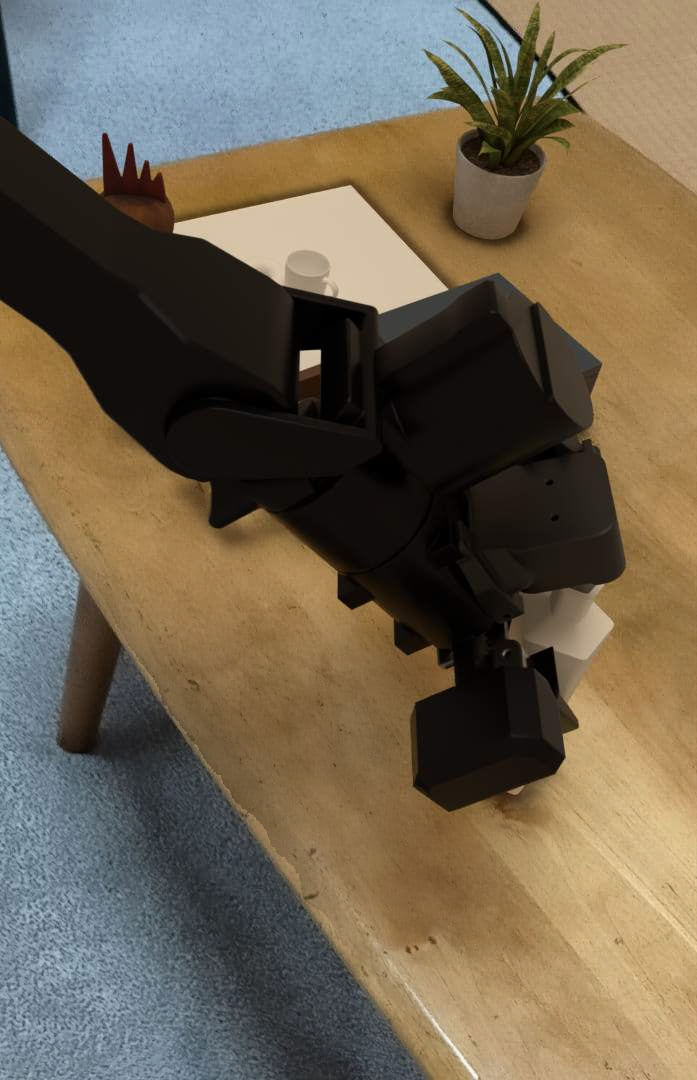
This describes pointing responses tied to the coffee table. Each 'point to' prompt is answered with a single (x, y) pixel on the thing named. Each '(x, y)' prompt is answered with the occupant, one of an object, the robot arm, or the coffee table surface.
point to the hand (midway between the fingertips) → (564, 686)
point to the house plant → (507, 129)
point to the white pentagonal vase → (563, 632)
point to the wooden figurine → (136, 190)
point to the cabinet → (426, 308)
